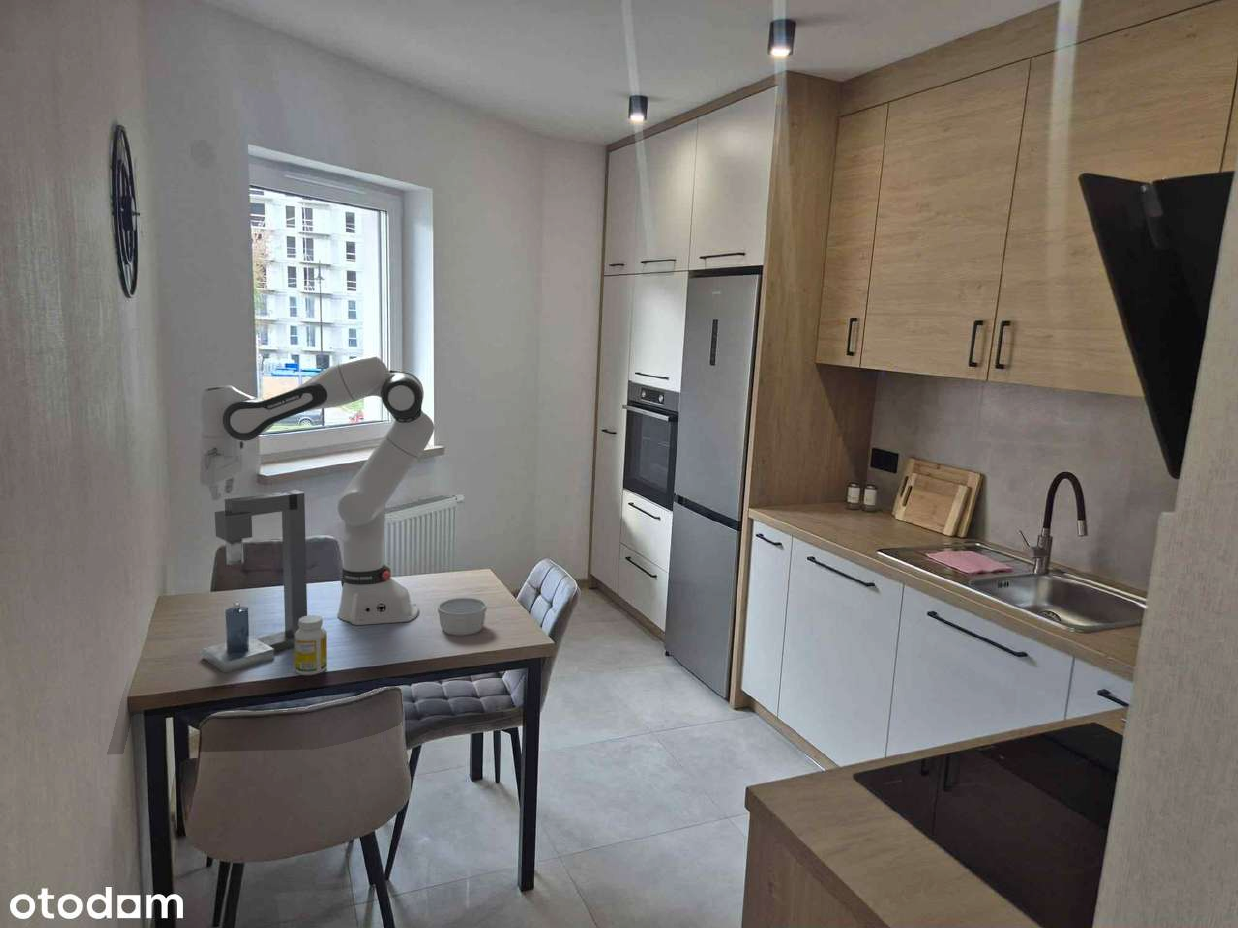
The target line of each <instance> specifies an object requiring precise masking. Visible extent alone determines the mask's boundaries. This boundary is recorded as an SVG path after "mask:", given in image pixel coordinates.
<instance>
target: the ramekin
mask: <svg viewBox="0 0 1238 928" xmlns="http://www.w3.org/2000/svg"><path fill="white" fill-rule="evenodd" d="M437 612H438V613H439V622H440V627H441V629H442V631H444V633H445V634H447V635H452V636H456V637H457V636H458V637H459V636H460V637H462V636H471V635H474V634H475V635H476V634H477V633H479V632H480V631H481V630H483V627H484V624H485V617H486V612H487V604H486V602H485V601H483V600H481V599H478V598H473V597H457V598H456V597H455V598H451V599H450V598H449V599H446V600H444V601H442V602H441V603H439V604H438V606H437Z"/></svg>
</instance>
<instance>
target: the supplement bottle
mask: <svg viewBox="0 0 1238 928" xmlns="http://www.w3.org/2000/svg"><path fill="white" fill-rule="evenodd" d="M323 624H324V623H323V617H322V616H321V615H316V614H309V615H308V614H307V616H303V617H301V618H300V619H299V620H298V626H299V628H300V629H298V630H297V631H296V633H295V647H294V669H295V672H296V673H297V674H299V675H302V676H312V675H313V676H315V675H317V674H320V673H322V672H324V671H325V670H326V669H327V666H328V665H327V663H328V661H327V660H328V659H327V658H328V656H327V653H328V652H327V642H328V641H327V637H328V636H327V630H326V629H325V628H324V627H323Z"/></svg>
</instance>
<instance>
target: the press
mask: <svg viewBox="0 0 1238 928" xmlns="http://www.w3.org/2000/svg"><path fill="white" fill-rule="evenodd" d="M305 498H306V497H305V492H304V491H300V490H298V489H295V490H287V491H281V492H279V491H278V492H273V493H265V494H263V493H262V494H258V495H255V494H254V495H249V496H248V495H247V496H242V497H234V498H225V499H224V510H220V511H214V525H215V527H214V529H215V531H214V532H215V537H217V538H218V539H221V540H222V541H225V551H226V553H225V554H226V564H227V565H229V566H235V565H236V566H237V565H241V564H243V563H244V546H243V544H244V543H243V540H245V539H248V538H253V521H252V520H253V518H252V517H253V516H260V515H266V514H274V513H280V512H281V525H282V528H281V529H282V530H281V531H282V532H281V533H282V560H283V561H282V562H283V563H282V565H283V567H282V568H283V569H282V570H283V596H284V597H283V598H284V600H283V601H284V602H283V603H284V631H281V632H278V633H274V634H269V635H267V636H263V637H255V636H253V635H249V649H248V650H246V651H244V652H239V653H230V652H228V651H227V641H226V642H223V643H218V644H215V645H211V646H208V647H203V648H202V659H203V660H205V661H206V662H208V663H209V664H211V665H212V666H214V667H215V668H217V669H218V670H220V671H221V672H223V673H224V674H226V673H229V672H233V671H236V670H239V669H243V668H246V667H249V666H253V665H257V664H260V663H263V662H268V661H270V660H274V659H275V654H277V653H280V652H283V651H287V650H290V649H295V633H296V631H297V630H298V629H300V628H299V626H298V620H299V619H300V618H301V617H303V616H308V597H307V596H308V595H307V593H308V592H307V591H308V590H307V587H308V586H307V560H306V559H307V552H306V551H307V549H306V546H307V545H306V512H305V510H306V509H305V505H306V504H305V500H306V499H305ZM276 652H277V653H276Z"/></svg>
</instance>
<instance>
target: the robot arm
mask: <svg viewBox="0 0 1238 928" xmlns="http://www.w3.org/2000/svg"><path fill="white" fill-rule="evenodd" d="M424 395H425V393H424V387H423V385H422V383H421V380H419V378H417V377H416V376H415V375H413V374H411V373H409V372H404V371H403V372H402V371H396V370H389V369H388V368H387V365H386V364H385V363H384V361H383V360H382V359H381V358H379V357H378V356H375V355H365V356H360V357H356V358H352V359H349V360H345V361H341V362H339V363H336V364H334V365H332V366H329V367H328V368H325V369H324V370H321V371H320V372H318V373H316V374H315V375H313V376H312V377H311V378H309V379H308V380H306V381H305V382H303V383H302V384H300V385H299V386H297V387H295V388H294V389H291V390H289V391H286V392H283V393H280V394H278V395H276V396H272V397H270V398H267V399H262V398H258V397H255V396H252V395H250V394H247V393H245V392H242V391H241V390H239V389H237V388H236V387H234V386H233V385H229V384H228V385H226V384H225V385H219V386H213V387H212V386H211V387H209V388H206V389H204V391H203V392H202V394H201V399H200V420H201V423H202V431H201V448H202V453H203V454H205V455H204V456H203V457H202V458H201V460H200V471H199V473H200V475H199V477H200V483H201V486H202V487H208V490H209V493H210V495H211V496H210V498H211V500H212V501H219V500H220V499H221V498H222V497H221V492H220V490H219V488H220V484H222V483H223V482H225V486H224V493H226V494H231V493H233V492H234V484H235V481H236V476H237V475H240V474H241V472H242V469H243V449H244V447H245V446H244V445H245V442H244V441H251V440H254V439H256V438H257V437H259V436H260V435H261V434H263V433H266V432H267V431H269V430H270V429H272V427H273V426H274V425H275V423H278V422H280V421H283V420H286V419H289V418H290V417H293V416H295V415H299V414H302V413H305V412H310V411H315V410H316V411H317V410H321V409H324V410H325V409H329V408H336V407H341V406H345V405H348V404H351V403H354V402H357V401H360V400H362V399H364V398H367V397H374V396H375V397H379V398H381V401H382V404H383V406H384V408H385V409H386V410H387V411H388V412H389V413H390V415H391V416H392V418H393V419H394V422H393V424H392V426H391V427H390V429H389V430H388V432H386V434H385V435H384V437H383V438H381V439H382V440H380V442H379V444H377V446H376V448H375V449H374V450H373V452H372V453H371V455H370V456H369V457H368V459H367V460H366V461H365V462H364V464H363V465H362V467H360V469H359V470H358V472H357V473H356V474H355V475H354V477H353V479H352V480H351V481H350V482H349V484H348V485H347V486H346V487H345V489H344V490H343V491H342V493H341V494H340V496H339V498H338V500H337V501H338V502H337V510H338V515H339V517H340V518H341V520H342V521H343V522H344V526H343V528H344V529H343V534H342V535H343V536H342V567H341V571H340V583H341V589H342V590H341V599H340V603H339V608H338V611H337V614H336V615H337V617H338V618H339V619H341V620H342V621H346V622H349V623H351V624H352V625H353V626H354V625H355V626H361V625H363V626H365V625H378V624H379V625H380V624H390V623H404V622H410V621H412V620H415V618H416V617H417V615H418V614H419V609H420V608H419V605H418V604H417V603H415V602H414V601H411V596H410V592H409V590H408V589H407V588H406V587H405V586H404V585H402V584H401V583H399V582H398V581H396V580H395V579H393V578H392V577H391V576H392V575H391V574H392V573H391V566H390V565H389V566H386V564H384V532H385V531H384V529H385V517H386V515H385V514H386V504H387V502H388V501H389V499H390V498H391V497H392V495H393V494H394V492H395V491H396V489H397V488H398V487H399V486H400V484H401V482H402V481H403V480H404V478H405V477H406V476H407V475H408V473H409V472H410V470H411V469H412V468H413V466H414V464H415V463H416V462H417V461H418V459H419V458H420V456H421V455H422V454H423V452H424V451H425V449H426V448H427V445H428V444H429V442H430V440H431V438H432V436H433V434H434V431H435V424H434V421H433V420H432V418H431V417H429V416H428V414H427V413H425V412H424V411H423V410H422V406H423V400H424Z"/></svg>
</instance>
